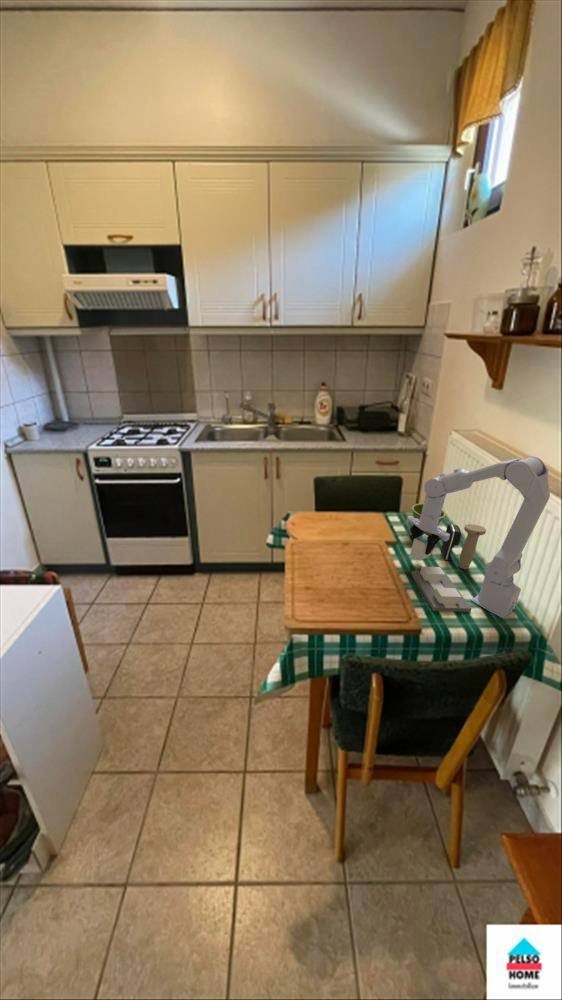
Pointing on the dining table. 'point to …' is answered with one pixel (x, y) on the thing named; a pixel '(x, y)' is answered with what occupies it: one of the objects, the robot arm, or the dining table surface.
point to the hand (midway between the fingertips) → (421, 550)
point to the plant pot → (417, 514)
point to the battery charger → (451, 541)
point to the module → (419, 547)
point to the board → (431, 594)
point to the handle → (470, 544)
